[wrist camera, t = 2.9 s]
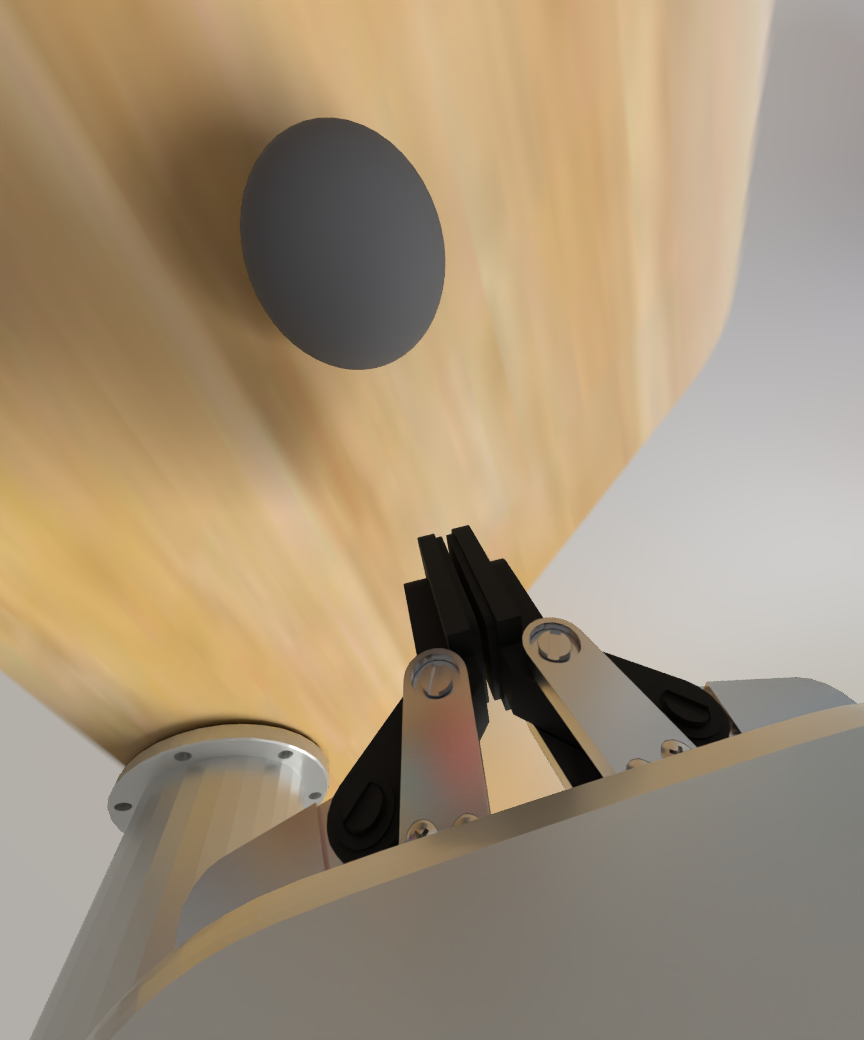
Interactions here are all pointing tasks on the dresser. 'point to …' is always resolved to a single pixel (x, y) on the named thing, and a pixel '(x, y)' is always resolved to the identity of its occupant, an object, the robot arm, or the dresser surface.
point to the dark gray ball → (342, 243)
